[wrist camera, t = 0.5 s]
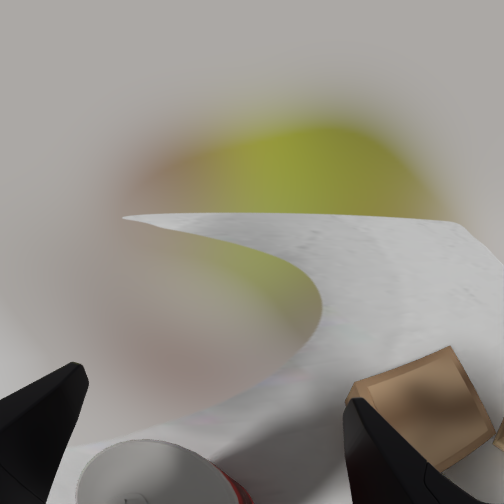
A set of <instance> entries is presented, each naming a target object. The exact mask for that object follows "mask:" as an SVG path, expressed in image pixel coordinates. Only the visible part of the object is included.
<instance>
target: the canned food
mask: <svg viewBox="0 0 504 504" xmlns="http://www.w3.org/2000/svg"><path fill="white" fill-rule="evenodd" d="M75 499H76V504H254V503H253V501H252V499H251V497H250V495H249V494H248V493H247V491H246V490H245V489H244V488H243V487H242V486H241V485H239V484H238V483H237V482H236V481H234V480H233V479H232V478H230V477H229V476H228V475H226V474H225V473H224V472H223V471H221V470H220V469H219V468H218V467H216V466H215V465H214V464H212V463H211V462H210V461H208V460H207V459H205V458H203V457H202V456H200V455H199V454H197V453H195V452H193V451H191V450H188V449H186V448H183V447H181V446H179V445H176V444H172V443H168V442H165V441H159V440H150V439H142V440H130V441H125V442H121V443H117V444H115V445H113V446H110V447H108V448H106V449H104V450H103V451H101V452H100V453H98V454H97V455H95V456H94V457H93V458H92V459H91V460H90V461H89V462H88V463H87V465H86V466H85V468H84V469H83V471H82V473H81V475H80V477H79V480H78V483H77V487H76V495H75Z"/></svg>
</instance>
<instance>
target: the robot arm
mask: <svg viewBox="0 0 504 504" xmlns="http://www.w3.org/2000/svg"><path fill="white" fill-rule="evenodd" d="M88 386H89V381H88V378H87V375H86V372H85V369H84V367H83V365H81V364H79V363H76V362H70V363H69V364H67V365H65V366H63V367H61V368H59V369H57V370H56V371H54V372H52V373H50V374H48V375H46V376H44V377H43V378H41V379H39V380H37V381H35V382H33V383H31V384H29V385H28V386H26V387H24V388H22V389H20V390H18V391H16V392H14V393H12V394H11V395H9V396H7V397H5V398H3V399H1V400H0V504H46V501H47V498H48V495H49V492H50V489H51V486H52V483H53V481H54V478H55V475H56V472H57V470H58V467H59V464H60V462H61V459H62V456H63V454H64V451H65V449H66V446H67V444H68V441H69V439H70V437H71V434H72V432H73V429H74V427H75V425H76V422H77V420H78V417H79V414H80V411H81V408H82V404H83V401H84V398H85V395H86V392H87V389H88ZM343 432H344V449H345V460H346V466H347V471H348V477H349V483H350V489H351V496H352V502H353V504H489V503H484V502H481V501H479V500H477V499H475V498H474V497H472V496H471V495H469V494H468V493H466V492H465V491H464V490H462V489H461V488H459V487H458V486H457V485H455V484H454V483H452V482H451V481H450V480H449V479H447V478H446V477H445V476H444V475H442V474H441V473H440V472H439V471H438V470H437V469H436V468H435V467H434V466H432V465H431V464H430V463H429V462H427V460H426V459H425V458H424V457H423V456H422V455H421V454H420V453H419V452H418V451H417V450H416V449H415V448H414V447H413V446H412V445H411V444H410V443H409V442H408V441H407V440H406V439H405V438H404V437H402V436H401V435H400V434H399V433H398V432H397V431H396V430H395V429H394V428H393V427H392V426H391V425H390V424H389V423H388V422H387V421H386V420H385V419H384V418H383V417H382V416H381V415H380V414H379V413H378V412H377V411H376V410H375V409H374V408H373V407H372V406H371V405H370V404H369V403H368V402H367V401H366V400H365V399H364V398H363V397H355V398H351V399H350V400H349V402H348V404H347V406H346V408H345V411H344V413H343Z"/></svg>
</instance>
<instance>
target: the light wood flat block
mask: <svg viewBox="0 0 504 504" xmlns="http://www.w3.org/2000/svg"><path fill="white" fill-rule="evenodd" d="M355 397H363V398H364V399H365V400H366V401H367V402H368V403H369V404H370V405H371V406H372V407H373V408H374V409H375V410H376V411H377V412H378V413H379V414H380V415H381V416H382V417H383V418H384V419H385V420H386V421H387V422H388V423H389V424H390V425H391V426H392V427H393V428H394V429H395V430H396V431H397V432H398V433H399V434H400V435H401V436H402V437H404V438H405V439H406V440H407V441H408V442H409V443H410V444H411V445H412V446H413V447H414V448H415V449H416V450H417V451H418V452H419V453H420V454H421V455H422V456H423V457H424V458H425V459H426V460H427V462H429V463H430V464H431V465H432V466H434V467H435V468H436V469H437V470H438V471H439V472H440V473H441V472H443V471H444V470H446V469H447V468H449V467H451V466H452V465H454V464H455V463H457V462H458V461H460V460H461V459H463V458H464V457H466V456H467V455H469V454H470V453H471V452H473V451H474V450H476V449H477V448H478V447H480V446H481V445H482V444H484V443H485V442H486V441H488V440H489V439H490V438H491V437H493V436H494V435H495V434H496V431H495V429H494V427H493V425H492V423H491V420H490V418H489V416H488V414H487V412H486V410H485V408H484V406H483V404H482V402H481V400H480V398H479V396H478V394H477V392H476V390H475V388H474V386H473V384H472V383H471V381H470V379H469V377H468V375H467V374H466V372H465V370H464V368H463V366H462V365H461V363H460V361H459V360H458V358H457V356H456V355H455V353H454V351H453V350H452V348H451V346H448V347H446V348H444V349H441V350H439V351H437V352H435V353H432V354H430V355H428V356H425V357H423V358H421V359H418V360H416V361H413V362H411V363H408V364H406V365H403V366H400V367H398V368H395V369H392V370H390V371H387V372H384V373H381V374H378V375H375V376H372V377H369V378H366V379H363V380H360V381H356V382H354V384H353V386H352V388H351V390H350V392H349V394H348V396H347V398H346V400H345V404H346V406H347V404H348V402H349V400H350V399H351V398H355Z"/></svg>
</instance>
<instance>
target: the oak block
mask: <svg viewBox="0 0 504 504" xmlns="http://www.w3.org/2000/svg"><path fill="white" fill-rule="evenodd" d="M493 445H495V446H496V447H498V448H499V449H501V450H502V451H504V418H503V421H502V423H501V426H500V428H499V430H498V433H497V435H496V437H495V439H494V441H493Z"/></svg>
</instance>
